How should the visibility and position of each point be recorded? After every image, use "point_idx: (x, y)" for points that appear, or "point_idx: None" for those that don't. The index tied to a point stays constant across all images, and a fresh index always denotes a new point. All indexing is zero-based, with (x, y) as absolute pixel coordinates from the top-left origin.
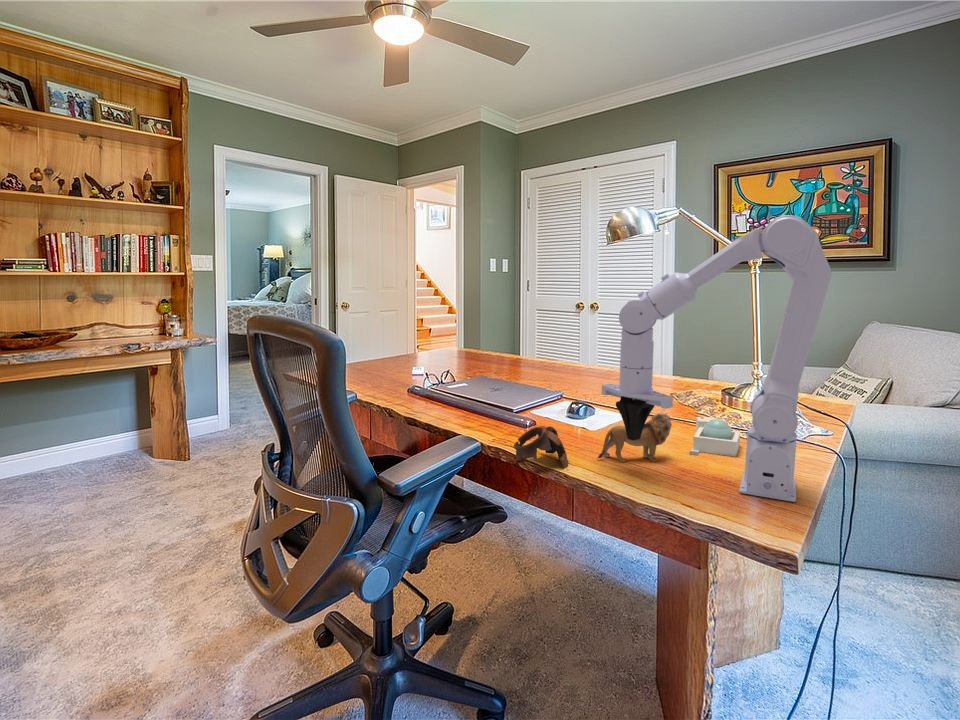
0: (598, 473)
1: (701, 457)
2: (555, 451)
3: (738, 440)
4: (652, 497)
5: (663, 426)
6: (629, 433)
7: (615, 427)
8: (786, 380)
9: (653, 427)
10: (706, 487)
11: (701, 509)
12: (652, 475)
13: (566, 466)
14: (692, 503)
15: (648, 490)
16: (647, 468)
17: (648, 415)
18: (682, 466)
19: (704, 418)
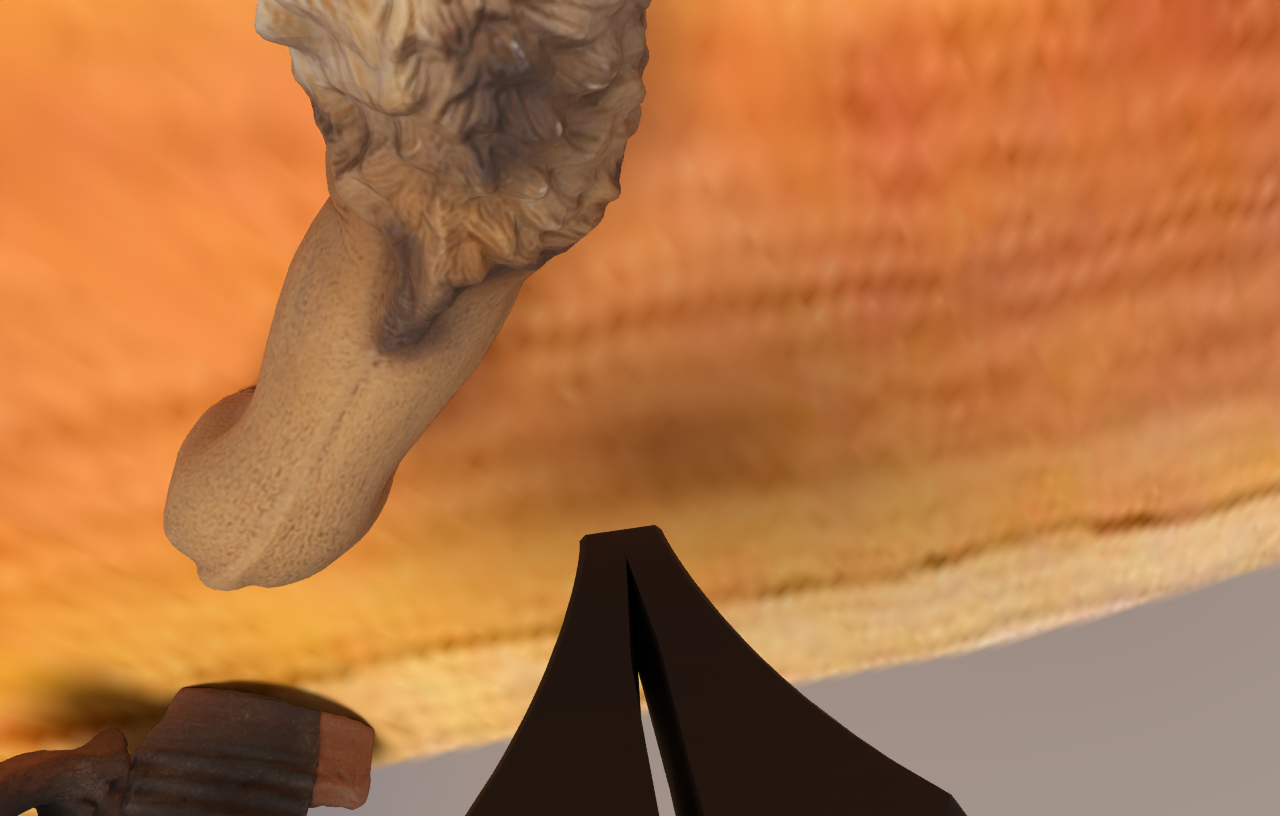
0: (543, 629)
1: None
2: (124, 740)
3: None
4: (955, 591)
5: (639, 101)
6: (642, 684)
7: (247, 579)
8: None
9: (554, 242)
10: (1128, 244)
11: (1194, 500)
12: (766, 387)
13: (364, 727)
14: (1137, 487)
15: (892, 555)
16: (650, 318)
17: (815, 709)
18: (796, 8)
19: None
